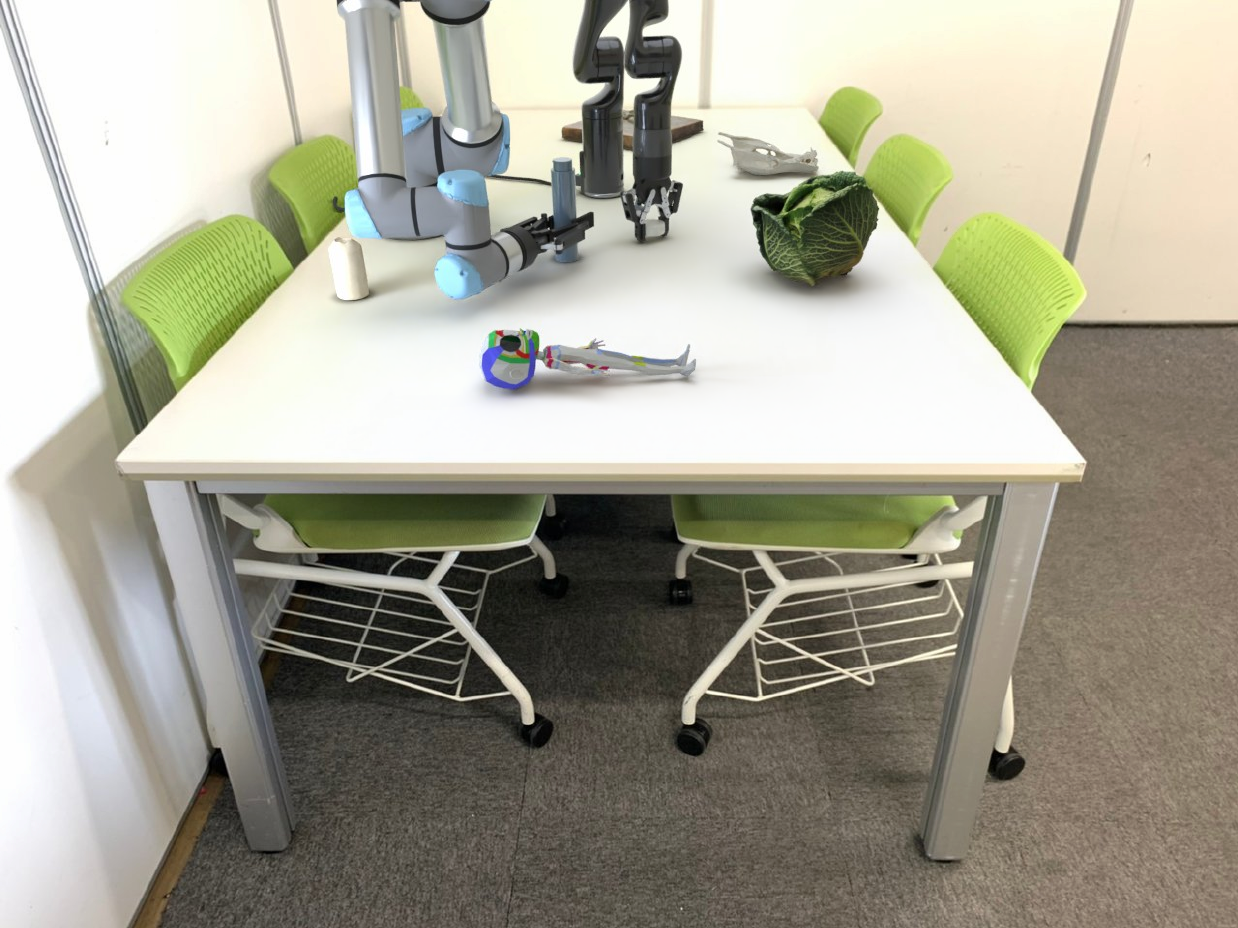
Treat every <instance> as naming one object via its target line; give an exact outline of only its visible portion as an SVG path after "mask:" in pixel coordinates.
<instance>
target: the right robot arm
mask: <svg viewBox="0 0 1238 928" xmlns="http://www.w3.org/2000/svg"><path fill="white" fill-rule="evenodd" d="M627 3H628V4H629V19H628V21H629V22H628V23H629V24H628V29H627V30H628V31H627V37H626V41H625V46H624V45H623V41H622V40H621V39H620V37H618V36H615V35H607V36H605V35H603V36H602V35H601V34H602V33H603V31H604V30H605V28H606V27H607V26H608V25H609V23H610V22H611V21H613V20H614V18H615V17H616V16H617V15H618V14H619V13H620V12H621V11H622V9H624V7H625V6H626V5H627ZM669 13H670V6H669V0H584V1H583V7H582V12H581V17H580V19H579V24H578V27H577V32H576V35H575V39H574V42H573V43H574V44H573V49H572V55H571V68H572V74H573V77H574V78H575V80H576V81H577V82H578V83H579V84H583V85H595V84H596V85H597V84H604V85H603V87H602V89H600V91H598V93H596V94H594V96H592V97H590V98H588V99H586V100H584V101H583V102H582V103H581V109H580V112H581V121H582V140H583V142H582V150H580V151H579V153H578V156H579V172H578V173H575V183H576V187H580V195H585V196H587V197H589V198H595V199H612V198H617V197H620V199H621V204H622V210H623V213H624V217H625V220H627V221H630V222H632V223H633V224H634V238H635V239H636V241H638V242H640V243H645V242H646V240H647V239H646V238H647V236H646V224H645V223H644V222H645V220H647V215H648V213H649V212H650V211H651V207H653V206H654V205H655V207H656V209H657V213H658V215H659V216H657V217H658V218H657V219H658V220H662V221H664V222H665V233H664V234H662V235H659V237H660V236H661V237H663V238H664V237H667V236H668V234H669V231H670V218H671V215H673V214H677V213H678V211H679V207H680V201H681V197H682V192H683V188H684V184H683V182H680V181H678V180H674V179H673V180H671V176H672V173H673V172H672V171H673V169H672V168H673V165H672V164H673V161H672V160H673V142H672V133H671V116H672V103H673V96H674V91H675V86H676V83H677V79H678V76H679V74H680V69H681V66H682V60H683V50H682V45H681V43H680V41H679V40H678V38H676V37H675V36H674V35H669V34H667V35H643V34H644V29H646V28H648V27H650V26H654V25H656V24H660V23H662V22H664V21H665V20H666V19H667V18H668V17H669ZM625 72H626V74H627V75H628V77H630V78H631V79H633V80H634V79H635V80H645V79H646V80H648V79H649V80H650V79H659V81H658V82H657V84H656V86H655V87H653V88H651V89H649V90H648V89H647V90H645V91H642V92H639V93H637V94H636V95H635V96H634V99H633V110H634V132H633V150H632V176H633V180H634V181H633V183H632V188H631V189H629V190H627V191H625V187H624V186H625V183H624V181H625V174H624V173H625V172H624V148H623V110H624V101H625V91H624V90H625ZM483 177H484V178H485V177H486V178H492V179H500V180H501V179H502V180H511V181H522V182H532V183H539V184H543V185H546V186H551V187H552V184H551V181H547V180H544V179H540V178H533V177H522V176H511V175H503V174H499V175H491V176H483ZM667 194H668V195H667ZM635 197H636V198H635Z"/></svg>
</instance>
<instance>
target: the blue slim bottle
mask: <svg viewBox="0 0 1238 928" xmlns="http://www.w3.org/2000/svg"><path fill="white" fill-rule="evenodd" d="M551 162H552V168H550V180H551V181H550V182H551V184H552V186H551V201H552V215H553V222H554V229H555V228H559V227H562V226H565V225H568V224H571V221H572V220H574V219H576V218H578V214H577V213H578V211H577V210H578V209H577V189H576V188H577V186H576V183H575V175H576V168H575V167H573V158H571V157H566V156H560V157H559V156H558V157H555V158H553V159H552V161H551ZM554 257H555V258H554V259H555V261H557V262H559V263H573V262H576V261H578V260H579V243H577V244H575V245H573V246H571V247H569V248H568V249H566V250H564V251H563V253H562V254H556V253H555V252H554Z"/></svg>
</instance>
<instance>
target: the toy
mask: <svg viewBox="0 0 1238 928" xmlns="http://www.w3.org/2000/svg"><path fill="white" fill-rule="evenodd" d="M601 343H603V344H601ZM605 346H606V343H605V344H604V340H603V339H602V340H599V341H597V338H596V337H595V338H594V339H593V340H591V341H590V342H589V344H588V345H584V346H583V345H582V346H579V347H572V346H567V345H562V344H552V345H551V344H550V345H546V346H545V347H544V348H543V349H542V351H540V335H539V333H538V332H537V331H535V330H533V329H530V328H526V329H525V330H524V329H522V328H519V330H513V329H499V330H497V329H494V330H493V331H491V332H490V333H488V335H487V336H486V338H485V339H484V340H483V343H482V344H481V346H480V351H479V363H478V367H479V369H480V372H481V374H482V378H483V379H484V381H485V382H486V383H488V384H490V385H492V386H493V387H497V388H501V389H504V390H514V391H515V390H516V389H519V388H522V387H525V386H526V385H528V384H529V383H530V382H531V380H532V379H533V378H534V376H535V373H536V367H537V366H536V363H537V360H538V361H542V363H543V364H544V366H545V368H547V369H549V370H559V371H561V372H567V373H569V374H572V375H576V376H588V375H594V376H599V377H604V378H607V379H609V376H611V377H612V376H613V375H612V374H611V373H607V372H610V370H619V371H621V370H622V371H634V372H637V373H642V374H644V375H648V376H667V375H674V374H680V375H681V376H684V377H689V376H690V375H691V374H692V373H693V372H694V371H696V367H697V366H696V365H697V359H696V358H694V359H693V360H692V361H691V362H690V363H688V360H689V359H688V358H689V355H690V350H691V344H690V343H688V344H687V345H686V349H685V351H684V352H683V353H682V354H681V355H680V356H678V357H677V358H671V359H670V358H656V357H655V358H654V357H646V356H639V355H629V354H626V353H623V352H618V351H612V350H606V349H601V348H599V347H605ZM687 363H688V364H687ZM576 364H577V365H578V364H582V365H583V366H586V367H583V366H576Z"/></svg>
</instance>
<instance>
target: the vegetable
mask: <svg viewBox="0 0 1238 928" xmlns="http://www.w3.org/2000/svg"><path fill="white" fill-rule="evenodd" d="M856 172H857V171H844V170H840V171H835V172H833V173H832V174H821V175H817V176H812V177H809V178H808V179H805V180H804V181H802V182H801V183H799V184H798V185H797V186H794V187H793V188H792V189H791V190H790V191H789V192H787V193H784V194H779V193H769V192H766V193H764V194H761V195H759V196H756V197H754V199H753V200H752V204H751V207H750V208H749V209H750V213H751V217H752V225H753V226H754V228H755V229H756V232H755V236H756V238H757V244H758V246H759V253H760V255H761V257H762V258H763V259H764V260H765V262H766V264H767V265H768V267H769V268H770V269H771V270H772V271H773V272H779V273H780V274H781V275H782V276H783V277H786V278H788V279H789V280H791V281H795V282H797V283H806V284H809V285H810V286H811V287H814V286H815V285H819V282H818V280H820V279H822V278H826V277H827V278H828V277H833V278H837V277H838V276H848V273H850V272H852V270H853V269H854V267H855V266H857V265H858V264H859V263H860V262H861V261H862V259H863V256H864V254H865V253H864V252H865V250H866V248H867V246H868V243H869V241H870V237H871V236H872V233H873V232H874V231H875V230H876V229H877V227H878V221H879V219H880V218H878V216H879V210H880V207H879V205H878V201H877V199H876V198H875V196H874V191H873V190H872V187H869V186H868V184H867V180H866V179H865V177H864V176H861V175H859V174H857V173H856Z"/></svg>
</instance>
